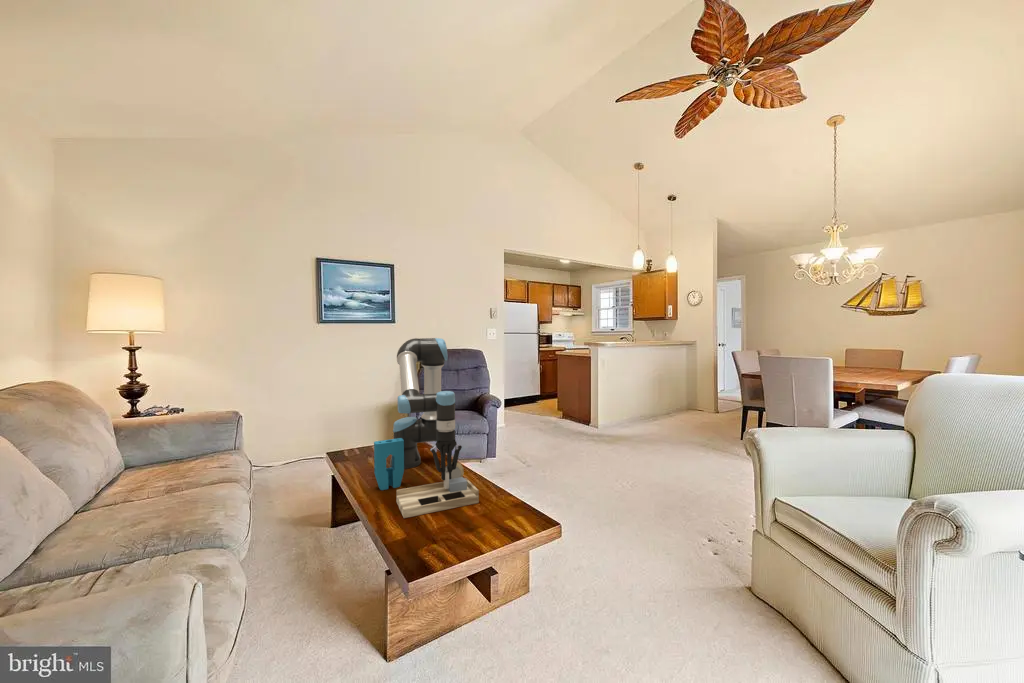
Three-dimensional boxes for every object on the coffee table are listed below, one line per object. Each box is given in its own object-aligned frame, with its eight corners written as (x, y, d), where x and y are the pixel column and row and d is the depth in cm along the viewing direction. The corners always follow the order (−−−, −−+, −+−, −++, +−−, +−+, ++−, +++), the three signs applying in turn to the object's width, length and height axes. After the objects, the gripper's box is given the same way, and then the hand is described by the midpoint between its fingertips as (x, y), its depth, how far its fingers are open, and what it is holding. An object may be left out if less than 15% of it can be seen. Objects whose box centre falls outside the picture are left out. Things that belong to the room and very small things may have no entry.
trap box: (396, 502, 156) (396, 489, 156) (466, 489, 169) (466, 477, 168) (403, 518, 142) (403, 504, 142) (478, 502, 155) (478, 490, 155)
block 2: (402, 482, 177) (401, 437, 177) (404, 485, 173) (404, 440, 172) (374, 487, 171) (373, 441, 171) (376, 491, 167) (375, 444, 167)
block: (446, 488, 162) (446, 479, 162) (463, 485, 165) (463, 477, 165) (450, 492, 158) (450, 484, 158) (467, 489, 161) (466, 481, 161)
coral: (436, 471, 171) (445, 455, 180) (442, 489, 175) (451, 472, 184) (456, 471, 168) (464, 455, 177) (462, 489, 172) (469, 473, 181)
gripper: (432, 433, 153) (432, 493, 154) (464, 430, 159) (464, 488, 160) (427, 429, 160) (428, 487, 161) (458, 426, 166) (458, 481, 166)
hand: (446, 487), depth 160 cm, fingers closed
